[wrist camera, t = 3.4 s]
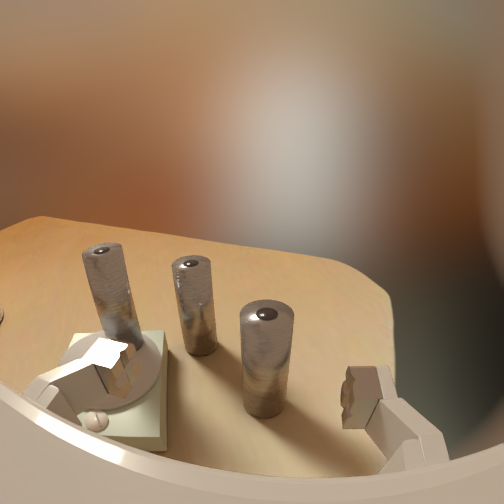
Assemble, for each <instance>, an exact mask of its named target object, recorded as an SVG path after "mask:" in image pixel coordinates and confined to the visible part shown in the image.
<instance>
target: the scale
mask: <svg viewBox="0 0 504 504" xmlns="http://www.w3.org/2000/svg"><path fill="white" fill-rule="evenodd" d="M141 333H142V336H143V340H144V343H143V345H142V347H141V348H140V349H139V350H138V351H137V352H135V355H136V356H137V357H138V358H139V360H140V364H141V370H140V375H139V377H138V379H137V380H136V381H134V382H132V383H131V385H132V389H131V390H130V392H129V394H128V395H127V397H126V399H123V398H120V397H116V396H113V395H109V394H108V396H106V397H105V398H103V399H102V400H100V401H99V402H97V403H96V404H94V405H93V406H91V407H90V408H88V409H87V410H85V411H83V412H82V413H80V414H79V415H77V417H78V419H79V420H80V422H81V423H82V427H83V428H86V429H88V430H90V431H92V432H95V433H97V434H99V435H102V436H104V437H107V438H109V439H112V440H114V441H117V442H120V443H122V444H125V445H128V446H131V447H134V448H137V449H140V450H143V451H167V362H168V345H167V340H166V336H165V332H164V330H155V331H141ZM102 336H104V337H106V336H105V333H104V330H103V331H99V332H96V333H75V334H74V336H73V339H72V341H71V343H70V346H69V348H68V350H67V351H66V352H65V353H64V355H63V356H62V358H61V360H60V362H59V365H58V367H60V366H62V365H65V364H67V363H69V362H72V361H74V360H76V359H82V358H83V356H84V355H85V354H86V353H87V352H88V350H89V349H90V348H91V347H92V346H93V344H94V343H95V342H96V341H97V340H98V339H99V337H102Z"/></svg>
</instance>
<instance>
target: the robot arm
mask: <svg viewBox="0 0 504 504" xmlns="http://www.w3.org/2000/svg"><path fill="white" fill-rule="evenodd" d="M2 317H3V309H2V307H1V306H0V321H1V320H2ZM135 352H136V349H135V346H134V344H131V343H128V342H124V341H120V340H116V339H111V338H108V337H104V336H102V337H99V339H98V340H97V341H96V342H95V343H94V344H93V346H92V347H91V348H90V349H89V350H88V352H87V353H86V354H85V355H84V356H83V358H82V359H76V360H74V361H72V362H69V363H67V364H65V365H62V366H60V367H58V368H55V369H53V370H51V371H48V372H46V373H44V374H41V375H39V376H37V377H36V378H35V379H34V380H33V381H32V382H31V384H30V385H29V386H28V387H27V388H26V390H25V391H24V392H23V393H22V394H20V393H19V392H17V391H16V390H14V389H13V388H11V387H10V386H8V385H7V384H5V383H4V382H2V381H1V380H0V504H504V443H502V444H499V445H497V446H494V447H492V448H489V449H486V450H483V451H481V452H477V453H475V454H471V455H468V456H465V457H462V458H458V459H455V460H451V461H450V460H449V456H448V452H447V449H446V445H445V441H444V438H443V434H442V433H441V432H440V431H439V430H438V429H437V428H436V427H434V426H433V425H432V424H431V423H430V422H429V421H427V420H426V419H425V418H424V417H423V416H422V415H421V414H419V413H418V412H417V411H416V410H415V409H414V408H412V407H411V406H410V405H409V404H408V403H407V402H405V400H403V399H402V398H398V397H397V393H396V389H395V385H394V382H393V378H392V375H391V371H390V368H389V366H388V365H385V366H348V368H347V371H346V380H345V381H344V382H343V384H342V388H341V406H342V407H343V408H344V410H343V412H342V428H343V429H365V431H366V432H367V434H368V435H369V436H370V437H371V439H372V440H373V441H374V443H375V444H376V445H377V446H378V448H379V449H380V450H381V452H382V453H383V454H384V455H385V457H386V458H387V459H388V460H389V461H388V462H387V463H386V464H385V466H384V467H383V468H382V469H381V470H380V471H379V472H378V474H377V475H368V476H356V477H339V478H295V477H277V476H265V475H255V474H247V473H239V472H232V471H226V470H220V469H214V468H209V467H204V466H199V465H195V464H190V463H186V462H182V461H178V460H174V459H170V458H166V457H163V456H159V455H156V454H152V453H149V452H146V451H143V450H140V449H137V448H134V447H131V446H128V445H125V444H122V443H120V442H117V441H114V440H112V439H109V438H107V437H104V436H102V435H99V434H97V433H95V432H92V431H90V430H88V429H86V428H83V427H82V423H81V422H80V420H79V419H78V417H77V415H79V414H80V413H82V412H83V411H85V410H87V409H88V408H90V407H91V406H93V405H94V404H96V403H97V402H99V401H100V400H102V399H103V398H105V397H106V396H108V394H109V395H113V396H116V397H120V398H123V399H126V397H127V395H128V394H129V392H130V390H131V389H132V385H131V383H132V382H134V381H136V380H137V379H138V377H139V375H140V370H141V364H140V360H139V358H138V357H137V356H136V355H135Z"/></svg>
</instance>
